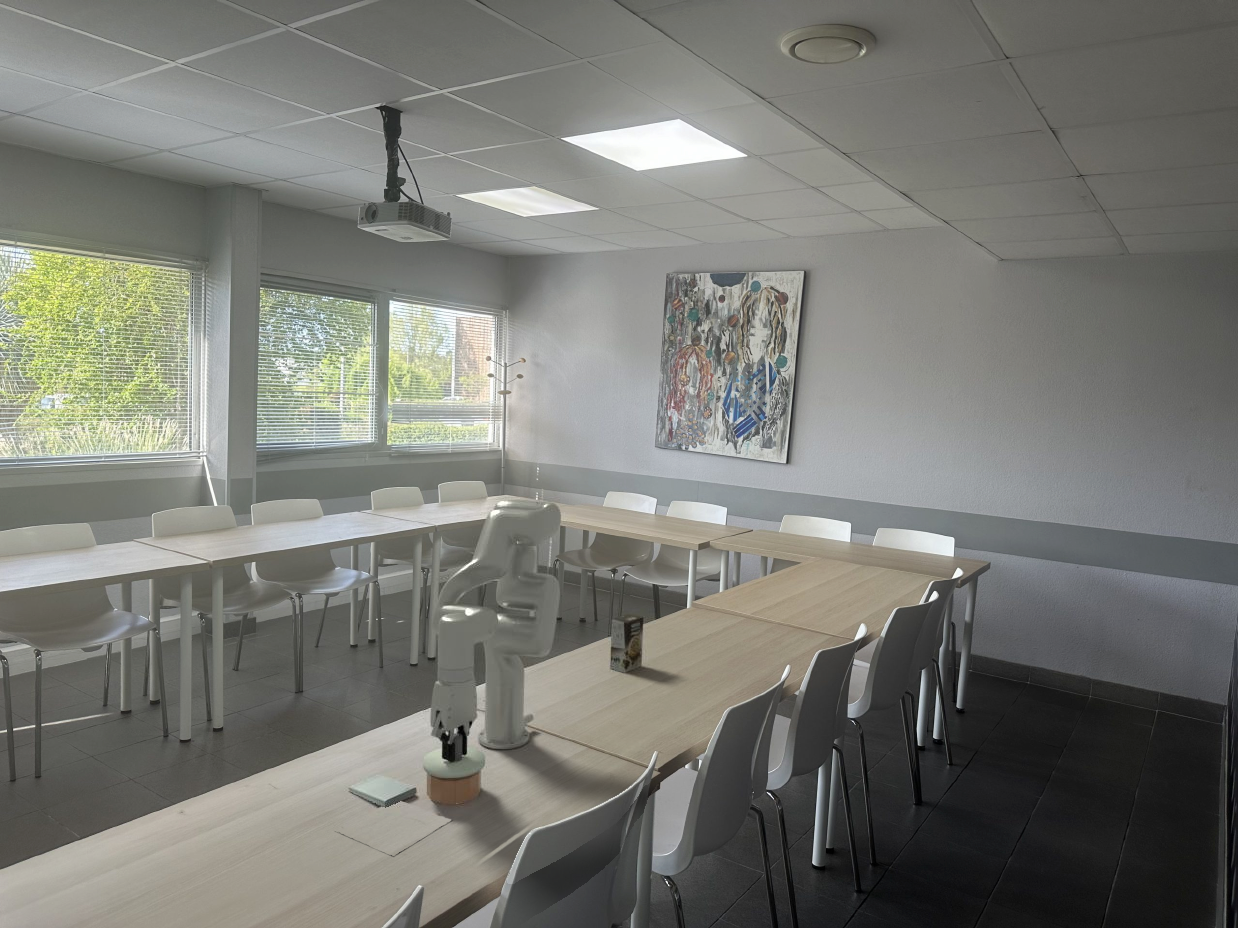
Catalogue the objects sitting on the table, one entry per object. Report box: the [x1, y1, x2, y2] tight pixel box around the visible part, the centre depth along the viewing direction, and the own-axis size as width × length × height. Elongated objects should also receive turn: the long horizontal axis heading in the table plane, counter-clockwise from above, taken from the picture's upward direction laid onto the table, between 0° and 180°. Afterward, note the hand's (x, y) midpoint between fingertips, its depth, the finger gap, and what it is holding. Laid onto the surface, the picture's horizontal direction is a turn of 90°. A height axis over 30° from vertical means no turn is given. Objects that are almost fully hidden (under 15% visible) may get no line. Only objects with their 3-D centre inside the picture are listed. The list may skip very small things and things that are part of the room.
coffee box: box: [609, 613, 644, 673], centre depth 263 cm, size 9×6×16 cm
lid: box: [422, 732, 486, 778], centre depth 177 cm, size 13×13×6 cm
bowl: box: [426, 769, 482, 805], centre depth 178 cm, size 11×11×6 cm
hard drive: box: [347, 774, 418, 808], centre depth 176 cm, size 2×8×12 cm
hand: (454, 755), depth 177 cm, fingers closed on lid, 3 cm apart
